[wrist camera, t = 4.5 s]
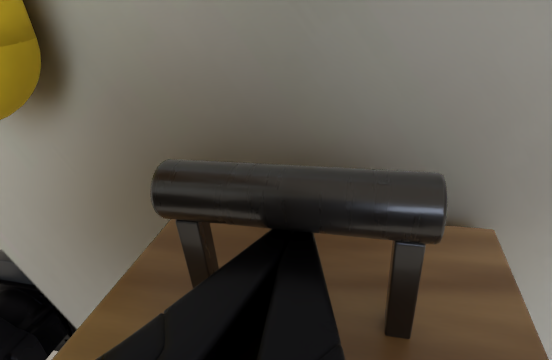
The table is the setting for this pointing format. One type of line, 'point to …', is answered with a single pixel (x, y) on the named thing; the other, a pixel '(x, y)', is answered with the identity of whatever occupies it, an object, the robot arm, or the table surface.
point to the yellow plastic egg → (17, 57)
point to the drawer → (330, 260)
